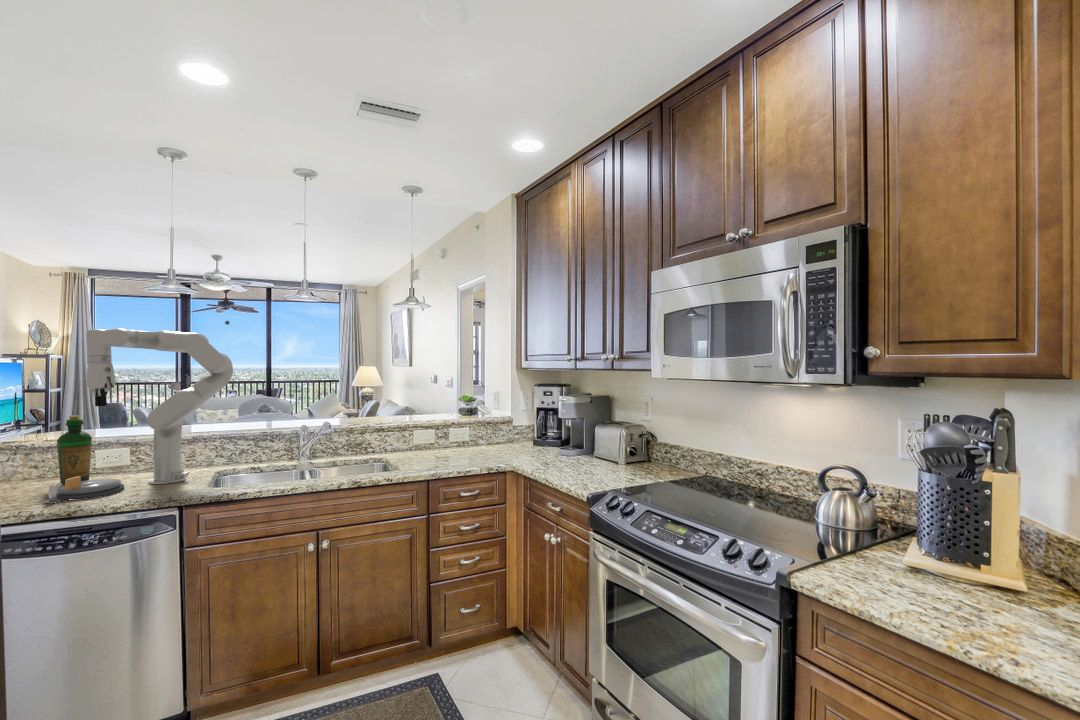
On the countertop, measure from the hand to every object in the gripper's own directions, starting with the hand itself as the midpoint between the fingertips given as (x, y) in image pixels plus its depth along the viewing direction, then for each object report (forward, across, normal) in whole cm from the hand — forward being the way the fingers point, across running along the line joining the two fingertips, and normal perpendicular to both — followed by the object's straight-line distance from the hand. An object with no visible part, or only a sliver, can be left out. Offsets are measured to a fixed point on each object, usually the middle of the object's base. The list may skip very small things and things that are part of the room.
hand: (101, 405), depth 209 cm
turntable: (+30, -7, +9) cm, 32 cm away
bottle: (+32, +13, +3) cm, 35 cm away
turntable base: (+32, -7, +9) cm, 34 cm away
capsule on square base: (+32, -10, +22) cm, 40 cm away
